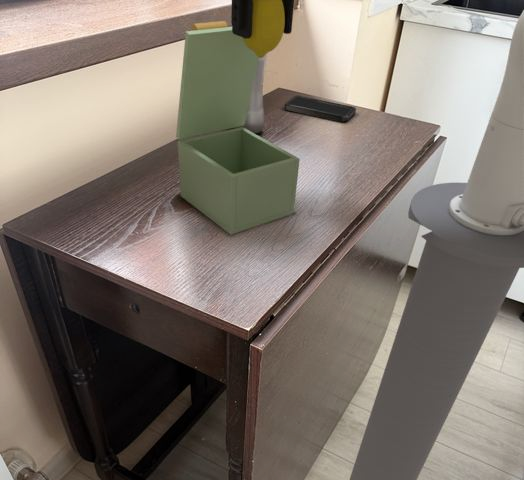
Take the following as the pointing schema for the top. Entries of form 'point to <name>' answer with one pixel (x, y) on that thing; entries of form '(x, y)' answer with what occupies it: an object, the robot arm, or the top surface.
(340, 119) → the phone
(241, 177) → the chest
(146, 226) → the top surface
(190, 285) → the top surface
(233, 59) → the lid
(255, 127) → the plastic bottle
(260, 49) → the lemon
